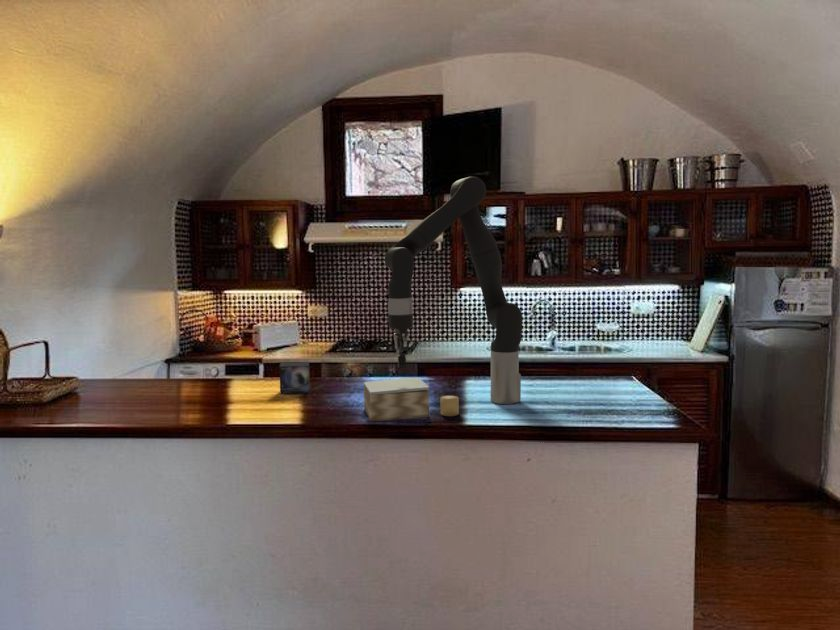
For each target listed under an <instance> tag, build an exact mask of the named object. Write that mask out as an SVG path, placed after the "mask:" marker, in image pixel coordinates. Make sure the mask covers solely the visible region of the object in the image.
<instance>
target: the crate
mask: <svg viewBox="0 0 840 630" xmlns="http://www.w3.org/2000/svg"><path fill="white" fill-rule="evenodd" d="M363 401H364V402H363V407H364V412H365V413H366V415H367V417H368V419H369V421H370V422H381V421H395V420H396V421H398V420H406V419H407V420H408V419H419V418H420V419H421V418H422V419H423V418H429V417H430V390H420V391H409V392H398V393H387V394H376V395H370V394H369V392H368V390H367V389H366V387H365V386H364V385H363Z"/></svg>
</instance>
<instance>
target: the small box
mask: <svg viewBox="0 0 840 630" xmlns="http://www.w3.org/2000/svg"><path fill="white" fill-rule="evenodd" d="M310 377H311V376H310V362H309V361H303V362H299V361H298V362H296V361H295V362H279V390H280V391H279V392H280V395H281V394H283V395H301V394H303V395H305V393H306V394H310V393H311V391H310V390H311V386H310V385H311V384H310V382H311V381H310V379H311V378H310Z"/></svg>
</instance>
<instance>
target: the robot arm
mask: <svg viewBox="0 0 840 630" xmlns="http://www.w3.org/2000/svg"><path fill="white" fill-rule="evenodd" d="M449 194H450V195H449V196H450V199H449V200H447V202H445V203H444V204H442V206H441V207H439V208H438V209H436V210H435V211H434V212H432V213H430V215H428V216H427V217H425V218H424V219H423V220H422V221H420V222H419V224H417V225H416V226H415V227H414V228H413V229H412V230H411V231H410V232H409V233H408V234H407V235H406V236H404V237H403V238H402V239H400V240H399V241H397V242H396V243H395V244H394V245H393V246H391V247H390V248H389V249H388V250H387V252H386V253H385V256H384V262H385V265H386V267H387V268H389V269H390V270H391V279H390V280H388V281H389V282H388V289H387V290H388V302H387V309H388V310H387V311H388V312H387V313H388V314H387V316H388V317H387V318H388V328H390V329H391V330H395V333H393V341H394V348H395V353H396V356H397V366H398V368H399V369H406V367H407V355H408V354H409V347H410V337H409V333H408V331H407V329H412V328H413V326H414V313H413V310H414V309H413V307H414V305H413V299H412V279H413V273H414V267H415V266H414V265H415V264H414V263H415V262H414V261H415V260H414V258H415V256H416V255H417V254H419V253H423V252H424V251H425V250H426V249H427V248H428V247H429V246H430V245H432V244H433V243H434V242H435V241H436V240H437V239H438V238H439V237H440V236H441V235H443V233H444V232H445V231H446V230H447V229H448V228H450V226H451V225H452V224H454V223H455V222H456V221H457V220H458V219H459V221H460V224H461V227H462V231H463V234H464V238H465V241H466V245H467V248H468V250H469V255H470V258H471V262H472V265H473V267H474V270H475V274H476V276H477V277H476V278H477V279H478V280H477V281H478V283H479V286H480V289H481V293H482V297H483V303H484V307H485V313H486V318H487V320H488V323H489V324H490V325H491V326H492V327H493V328H494V329H495V338H494V339H493V340H492V341H491V343H490V394H489V395H490V402H492V403H494V404H500V405H512V404H516V403H521V402H522V401H521V397H522V396H521V395H522V393H521V391H522V387H521V386H522V385H521V384H522V383H521V381H522V380H521V379H522V375H521V374H522V373H520V372H519V366H520V365H519V359H520V358H519V355H520V353H519V352H520V350H519V349H520V344H521V343H522V332H523V314H522V311H521V309H520V307H519V306H518V305H517V304H515V303H512V302H508V301H507V298H506V295H505V292H504V289H503V286H502V285H503V284H502V275H503V274H502V273H503V262H502V257H501V254H500V253H501V252H500V249H499V246H498V243H497V241H496V239H495V237H494V235H493V234H492V233H491V231H490V230H489V228H488V227H487V225H486V224H485V222H484V221H483V218H482V216H481V213H480V208H479V204H481V203H482V202H483V201H484V199H485V198H486V195H487V186H486V184H485V182H484V181H483V180H482V178H479V177H478V176H468V177H467V176H466V177H464V178H460V179H458V180H456V181H455V182H453V183H452V184H451V187H450V193H449Z"/></svg>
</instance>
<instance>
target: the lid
mask: <svg viewBox="0 0 840 630" xmlns="http://www.w3.org/2000/svg"><path fill="white" fill-rule="evenodd" d="M364 386H365V387H366V389H367V390H368V392H369V394H370V395H376V394H387V393H398V392H409V391H420V390H428V391H430V386H429V385H428V384H427V383H425V382H424V381H423V380H422V379H421V378H420V377H417V376H416V377H408V378H407V377H406V378H396V379H395V378H394V379H385V380H372V381H364V382H363V387H364Z"/></svg>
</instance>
